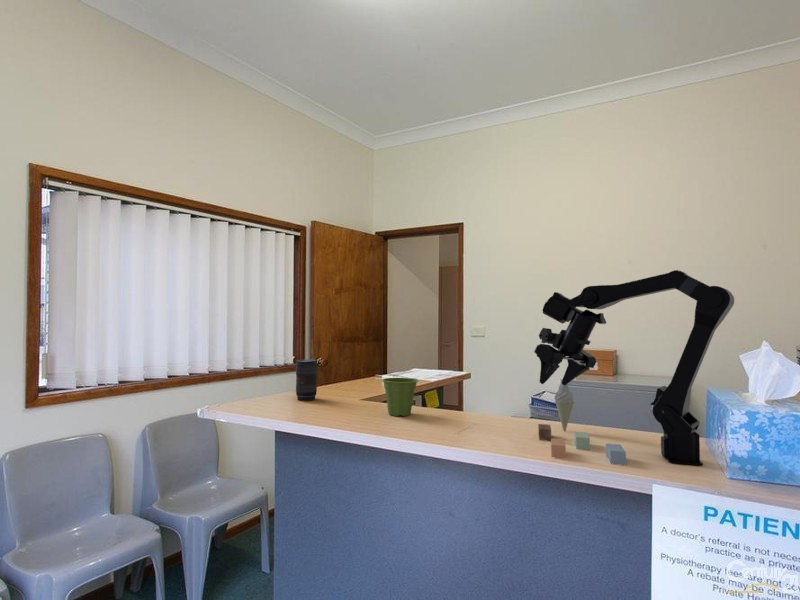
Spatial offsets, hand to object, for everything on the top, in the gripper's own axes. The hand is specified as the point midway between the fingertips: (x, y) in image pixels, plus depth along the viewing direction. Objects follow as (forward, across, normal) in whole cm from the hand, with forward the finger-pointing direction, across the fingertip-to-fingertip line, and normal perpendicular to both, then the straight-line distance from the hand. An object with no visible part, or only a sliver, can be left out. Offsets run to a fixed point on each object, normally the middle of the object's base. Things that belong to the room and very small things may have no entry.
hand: (552, 383), depth 122 cm
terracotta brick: (+9, +11, +16) cm, 22 cm away
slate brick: (+4, +4, +25) cm, 26 cm away
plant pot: (+35, +16, -34) cm, 51 cm away
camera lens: (+55, +30, -72) cm, 95 cm away
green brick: (+9, 0, +15) cm, 17 cm away
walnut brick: (+13, +1, +6) cm, 14 cm away
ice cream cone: (+13, -10, +4) cm, 16 cm away
